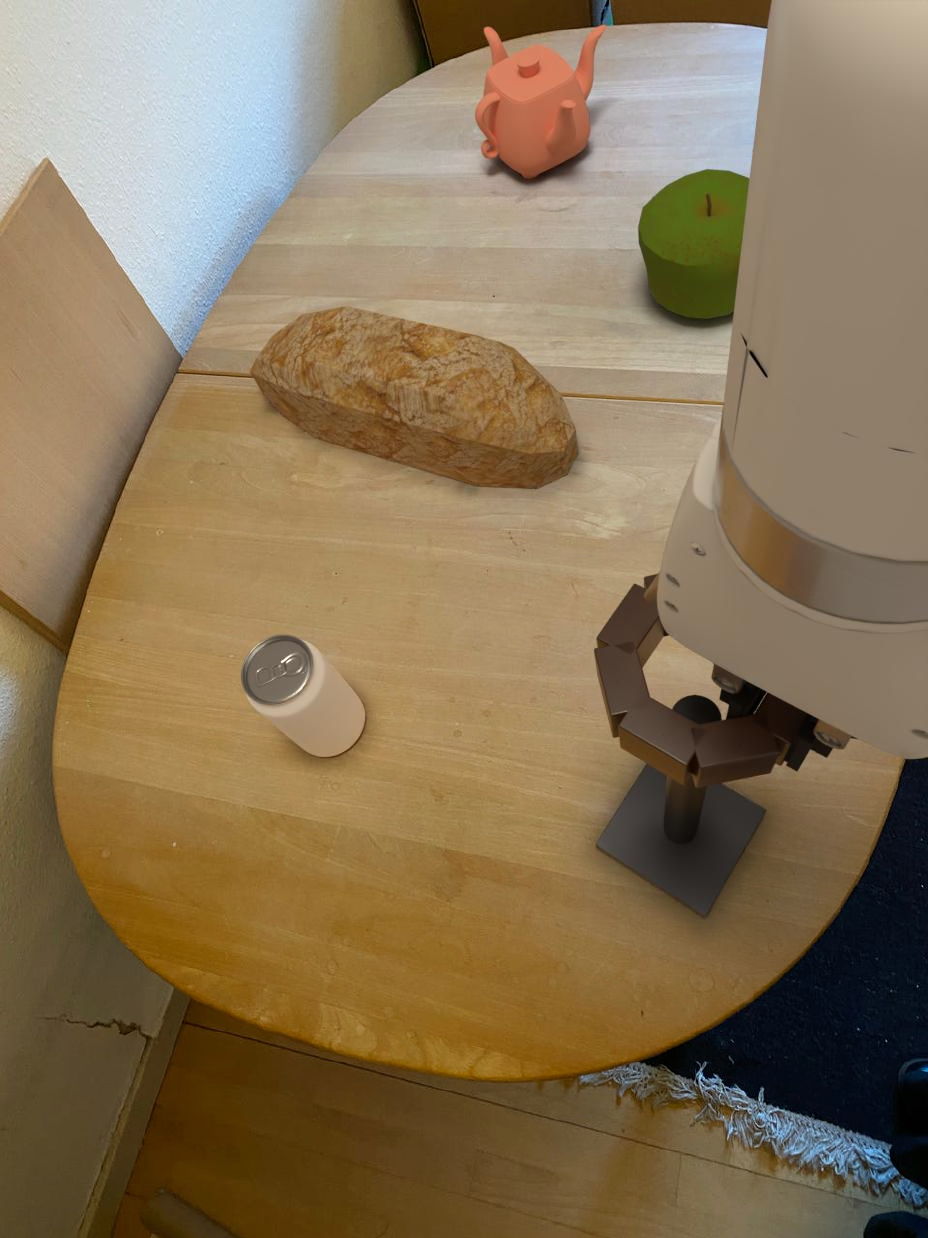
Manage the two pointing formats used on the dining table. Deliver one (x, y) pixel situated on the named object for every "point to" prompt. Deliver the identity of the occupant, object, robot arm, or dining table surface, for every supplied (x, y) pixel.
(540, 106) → the teapot
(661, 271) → the apple
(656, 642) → the ring
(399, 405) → the bread
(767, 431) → the robot arm
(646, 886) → the dining table surface
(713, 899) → the dark grey peg stand
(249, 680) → the can
